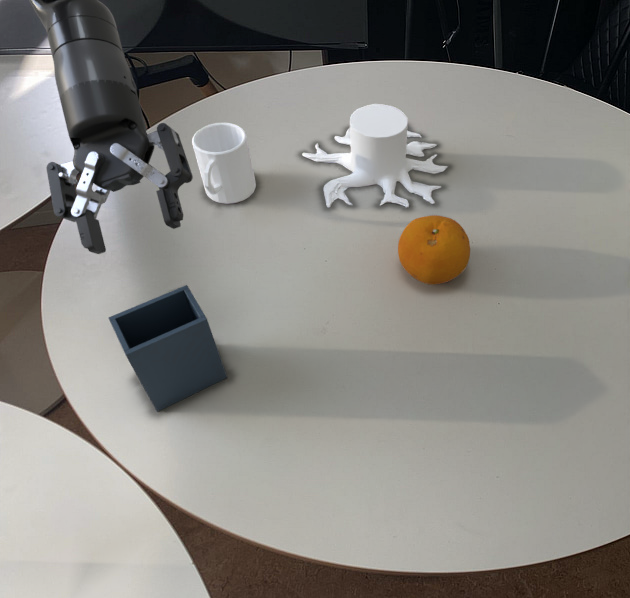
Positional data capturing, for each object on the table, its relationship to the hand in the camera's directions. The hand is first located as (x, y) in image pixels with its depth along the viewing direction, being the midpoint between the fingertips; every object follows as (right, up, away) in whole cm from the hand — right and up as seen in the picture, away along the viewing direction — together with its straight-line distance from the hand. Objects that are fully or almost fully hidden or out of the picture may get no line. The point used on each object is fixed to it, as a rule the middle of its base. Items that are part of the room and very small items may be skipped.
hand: (135, 239), depth 62 cm
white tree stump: (+23, +17, +42) cm, 51 cm away
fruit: (+32, -2, +27) cm, 42 cm away
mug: (-1, +11, +36) cm, 38 cm away
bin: (0, -16, +14) cm, 21 cm away
